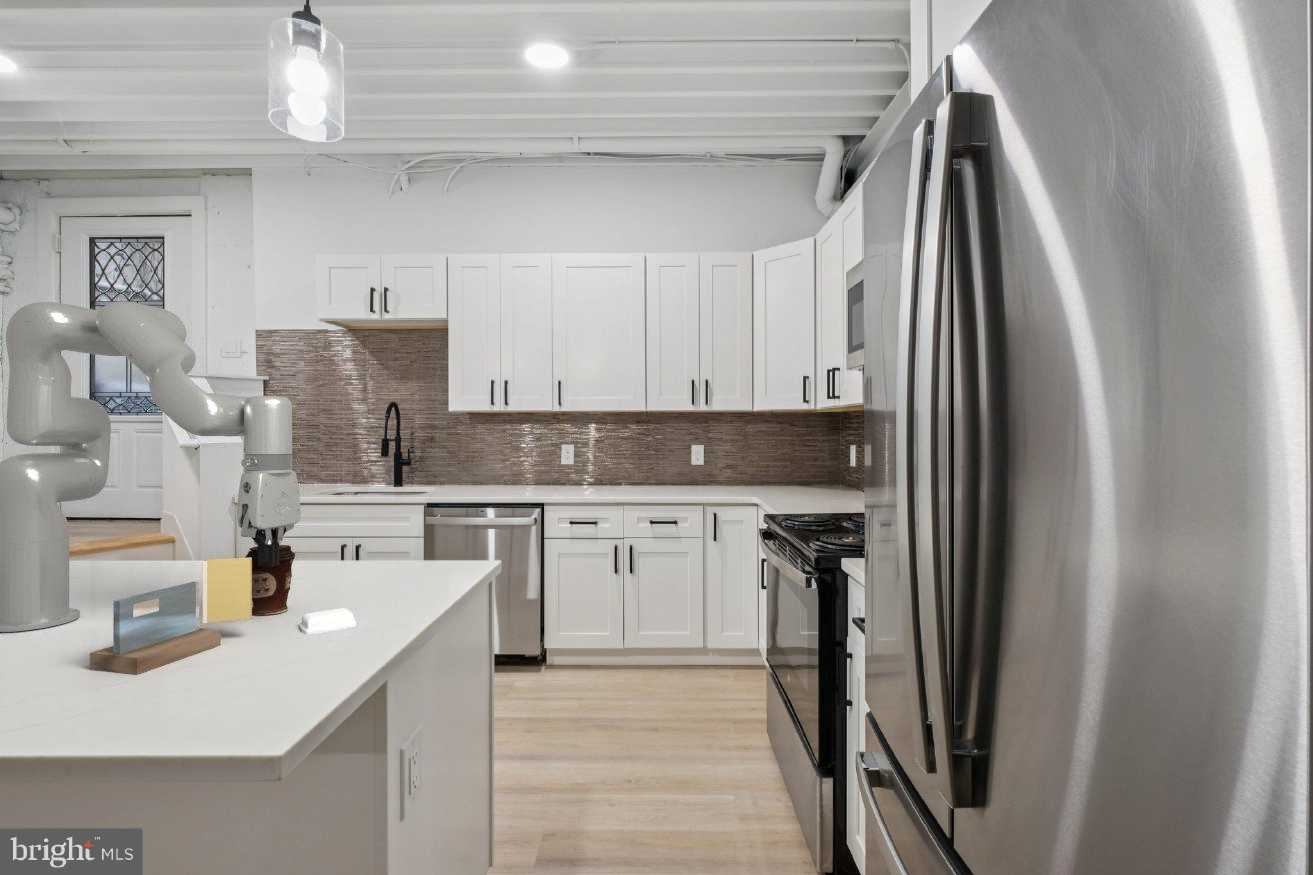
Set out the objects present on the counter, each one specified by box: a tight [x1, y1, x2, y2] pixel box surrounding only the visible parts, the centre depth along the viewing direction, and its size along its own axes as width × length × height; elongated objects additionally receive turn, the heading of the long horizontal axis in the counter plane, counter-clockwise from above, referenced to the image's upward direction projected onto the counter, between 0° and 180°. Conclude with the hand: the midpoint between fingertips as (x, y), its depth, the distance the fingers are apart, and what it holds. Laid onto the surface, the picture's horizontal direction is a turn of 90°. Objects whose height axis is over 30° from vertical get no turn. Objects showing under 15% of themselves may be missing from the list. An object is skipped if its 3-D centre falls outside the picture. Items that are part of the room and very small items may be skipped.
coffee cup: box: [244, 544, 296, 616], centre depth 131 cm, size 9×8×13 cm
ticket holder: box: [89, 581, 222, 676], centre depth 105 cm, size 9×14×10 cm, turn 166°
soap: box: [299, 607, 358, 635], centre depth 121 cm, size 9×7×3 cm
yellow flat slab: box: [201, 557, 253, 624], centre depth 113 cm, size 1×7×10 cm, turn 108°
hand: (268, 565), depth 119 cm, fingers closed
